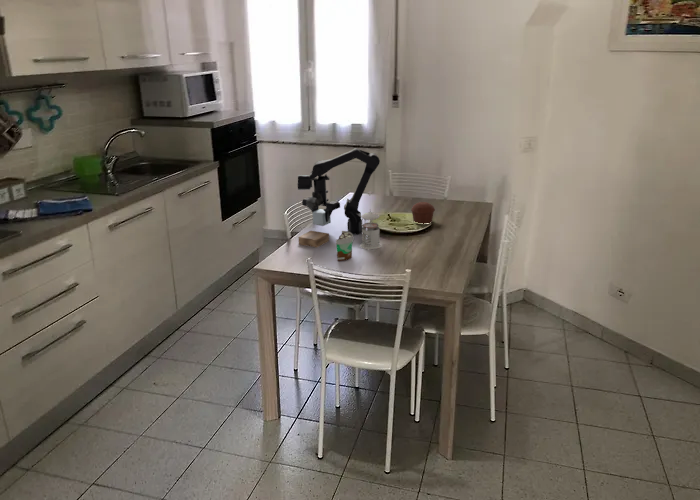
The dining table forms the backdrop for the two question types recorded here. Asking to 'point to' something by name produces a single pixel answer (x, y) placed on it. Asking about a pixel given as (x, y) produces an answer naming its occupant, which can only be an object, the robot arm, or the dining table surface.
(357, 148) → the robot arm
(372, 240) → the french press
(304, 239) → the walnut block
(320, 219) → the slate cube
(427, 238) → the dining table surface
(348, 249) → the food container
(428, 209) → the muffin
